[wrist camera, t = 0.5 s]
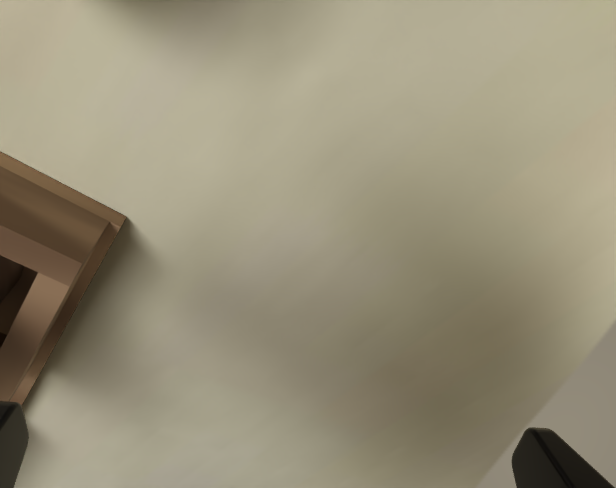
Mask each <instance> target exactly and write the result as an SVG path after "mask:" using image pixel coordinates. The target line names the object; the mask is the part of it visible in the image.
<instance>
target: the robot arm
mask: <svg viewBox="0 0 616 488" xmlns="http://www.w3.org/2000/svg"><path fill="white" fill-rule="evenodd" d="M28 438H29V435H28V429H27V425H26V421H25V417H24V413H23V409H22V406H21V405H20V404H19V403H18V402H10V401H0V488H14V485H15V482H16V479H17V476H18V473H19V470H20V466H21V463H22V460H23V457H24V454H25V451H26V448H27V444H28ZM512 468H513V473H514V477H515V482H516V486H517V488H615V487H613V486H612V485H611V484H610V483H609V482H608V481H607V480H606V479H605V478H604V477H603V476H602V475H600V474H599V473H598V472H597V471H596V470H595V469H594V468H593V467H592V466H591V465H589V464H588V463H587V462H586V461H585V460H584V459H583V458H582V457H581V456H580V455H579V454H578V453H577V452H576V451H574V450H573V449H572V448H571V447H570V446H569V445H568V444H567V443H566V442H565V441H564V440H563V439H561V438H560V437H559V436H558V435H557V434H556V433H555V432H554V431H552V430H550V429H547V428H528V429H527V430H526V431H525V432H524V434H523V436H522V438H521V440H520V441H519V443H518V445H517V447H516V449H515V451H514V453H513V456H512Z"/></svg>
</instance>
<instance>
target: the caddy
mask: <svg viewBox="0 0 616 488" xmlns="http://www.w3.org/2000/svg"><path fill="white" fill-rule="evenodd" d="M125 219H126V216H124V215H122V214H120V213H118V212H116V211H114V210H112V209H110V208H108V207H106V206H104V205H103V204H101V203H99V202H97V201H95V200H93V199H91V198H89V197H87V196H85V195H83V194H81V193H79V192H77V191H75V190H73V189H71V188H70V187H68V186H66V185H64V184H62V183H60V182H58V181H56V180H54V179H52V178H50V177H48V176H46V175H44V174H42V173H40V172H39V171H37V170H35V169H33V168H31V167H29V166H27V165H25V164H23V163H21V162H19V161H17V160H15V159H13V158H11V157H9V156H7V155H6V154H4V153H2V152H0V401H10V402H18V403H19V404H20V405H21V406H22V404H23V403H24V401H25V399H26V397H27V395H28V394H29V392H30V390H31V388H32V386H33V385H34V383H35V381H36V379H37V377H38V376H39V374H40V372H41V370H42V368H43V367H44V365H45V363H46V361H47V359H48V358H49V356H50V354H51V352H52V350H53V349H54V347H55V345H56V343H57V341H58V340H59V338H60V336H61V334H62V332H63V331H64V329H65V327H66V325H67V323H68V322H69V320H70V318H71V316H72V314H73V313H74V311H75V309H76V307H77V305H78V303H79V302H80V300H81V298H82V296H83V294H84V293H85V291H86V289H87V287H88V285H89V284H90V282H91V280H92V278H93V276H94V275H95V273H96V271H97V269H98V267H99V266H100V264H101V262H102V260H103V258H104V257H105V255H106V253H107V251H108V249H109V248H110V246H111V244H112V242H113V240H114V239H115V237H116V235H117V233H118V231H119V230H120V228H121V226H122V224H123V222H124V221H125Z"/></svg>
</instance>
